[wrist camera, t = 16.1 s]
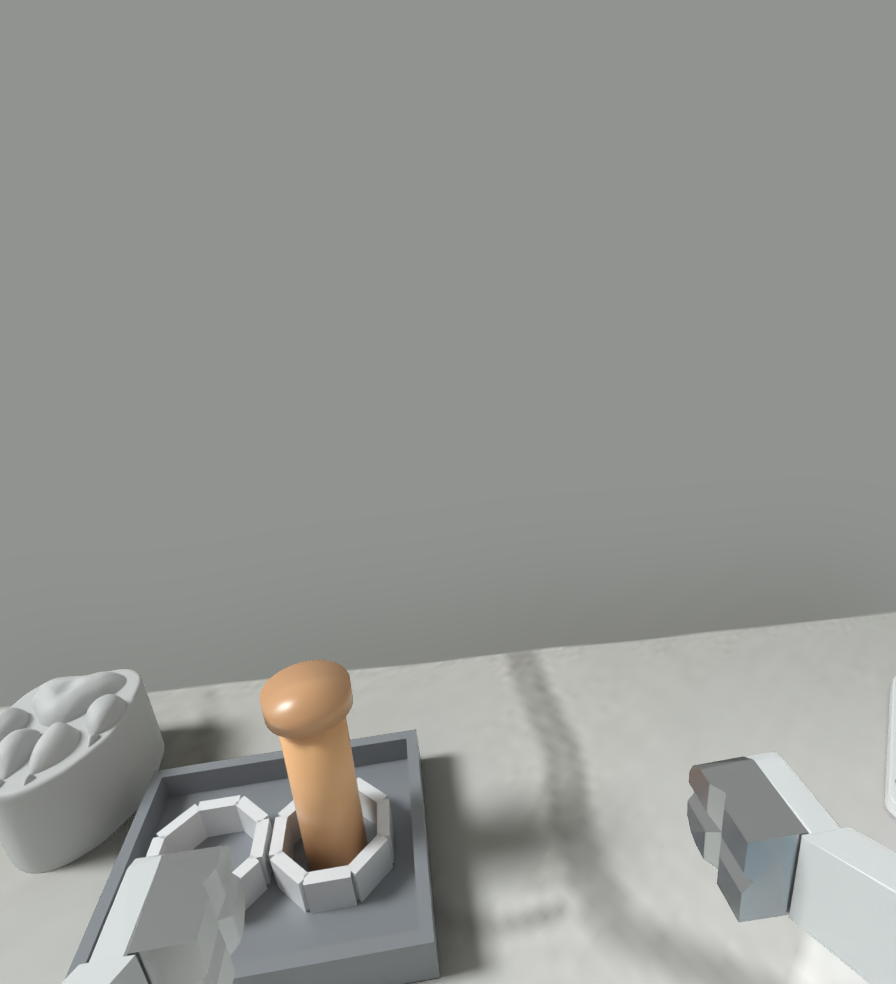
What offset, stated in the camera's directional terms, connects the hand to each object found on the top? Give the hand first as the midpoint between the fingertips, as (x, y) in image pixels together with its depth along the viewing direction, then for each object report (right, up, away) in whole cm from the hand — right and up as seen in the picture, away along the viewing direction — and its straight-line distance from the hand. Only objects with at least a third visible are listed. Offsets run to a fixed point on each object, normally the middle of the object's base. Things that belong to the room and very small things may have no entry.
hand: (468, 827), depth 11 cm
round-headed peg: (-8, -18, +30) cm, 36 cm away
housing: (-12, -20, +30) cm, 38 cm away
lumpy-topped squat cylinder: (-29, -19, +38) cm, 52 cm away
